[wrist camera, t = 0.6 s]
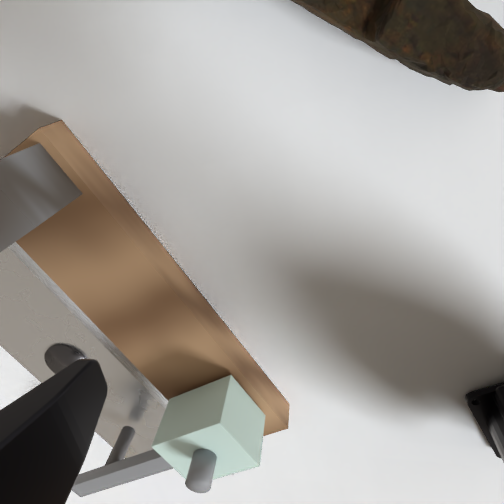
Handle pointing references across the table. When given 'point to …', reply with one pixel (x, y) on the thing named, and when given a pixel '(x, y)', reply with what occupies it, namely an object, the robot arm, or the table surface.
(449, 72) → the dark brown rough bar
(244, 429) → the sliding leg
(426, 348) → the table surface
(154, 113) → the table surface
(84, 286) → the wood and metal assembly
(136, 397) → the bolt plate
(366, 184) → the table surface
